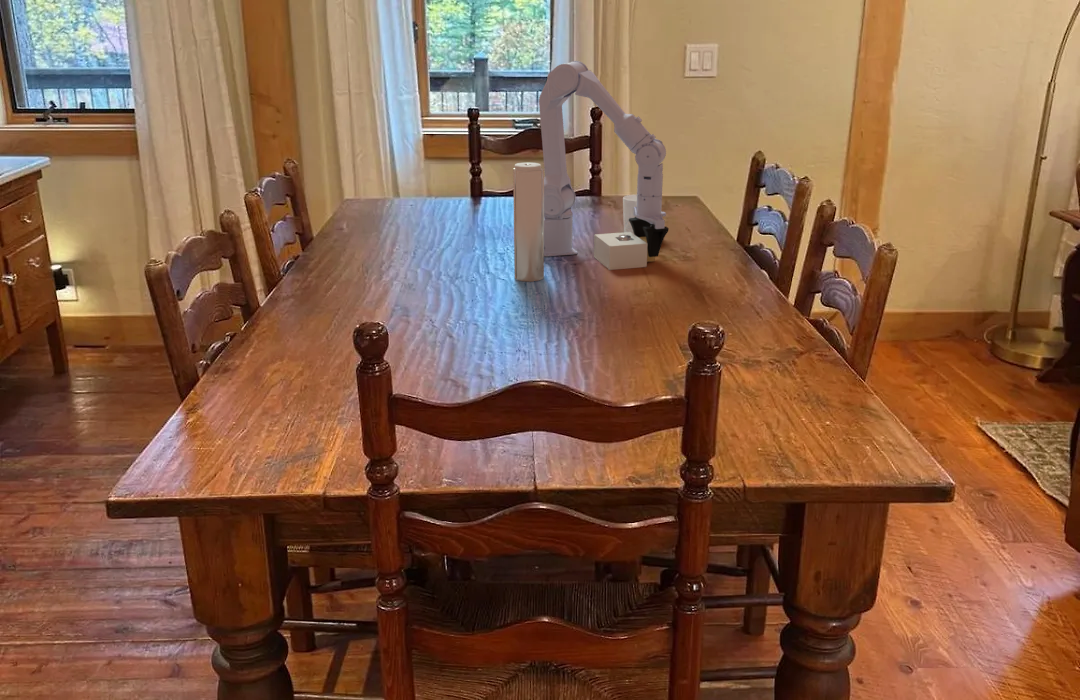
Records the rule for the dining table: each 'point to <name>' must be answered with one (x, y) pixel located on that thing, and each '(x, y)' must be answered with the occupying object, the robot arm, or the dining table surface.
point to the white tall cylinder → (528, 221)
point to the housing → (620, 251)
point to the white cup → (628, 211)
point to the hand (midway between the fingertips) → (647, 252)
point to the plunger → (624, 237)
